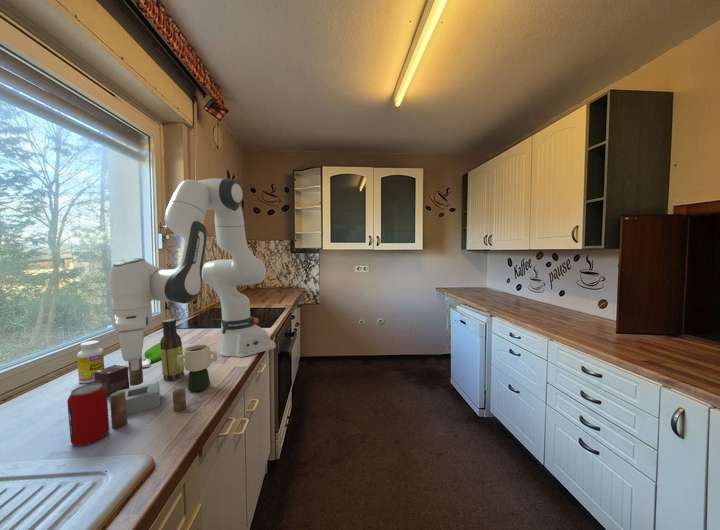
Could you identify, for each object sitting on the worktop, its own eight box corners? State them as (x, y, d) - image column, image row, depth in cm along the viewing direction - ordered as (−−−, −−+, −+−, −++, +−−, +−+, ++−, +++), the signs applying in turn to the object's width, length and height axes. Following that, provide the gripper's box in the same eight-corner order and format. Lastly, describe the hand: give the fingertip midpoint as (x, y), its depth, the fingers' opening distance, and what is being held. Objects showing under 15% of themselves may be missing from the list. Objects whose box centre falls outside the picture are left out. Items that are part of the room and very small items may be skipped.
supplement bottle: (89, 384, 99) (86, 346, 99) (73, 383, 101) (70, 345, 100) (110, 376, 106) (107, 340, 105) (94, 375, 107) (92, 339, 107)
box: (130, 389, 96) (128, 366, 95) (109, 398, 90) (107, 374, 90) (116, 386, 98) (115, 364, 97) (95, 395, 92) (93, 371, 92)
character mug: (219, 380, 100) (217, 342, 100) (217, 390, 94) (215, 348, 93) (181, 386, 96) (178, 346, 96) (176, 397, 90) (174, 353, 89)
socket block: (159, 394, 91) (159, 381, 91) (160, 406, 85) (159, 392, 85) (117, 404, 86) (116, 391, 86) (114, 417, 79) (113, 402, 79)
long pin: (143, 379, 87) (141, 342, 86) (143, 383, 84) (140, 344, 84) (130, 382, 85) (127, 344, 85) (129, 386, 83) (127, 346, 82)
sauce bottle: (188, 373, 107) (184, 317, 106) (178, 381, 101) (174, 321, 99) (169, 374, 107) (166, 318, 105) (158, 382, 100) (154, 322, 99)
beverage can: (87, 430, 74) (83, 382, 73) (116, 428, 74) (113, 381, 74) (62, 449, 67) (57, 396, 66) (95, 447, 68) (90, 394, 67)
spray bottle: (183, 347, 137) (154, 369, 113) (156, 349, 135) (122, 372, 111) (182, 341, 137) (154, 362, 113) (156, 342, 135) (121, 364, 111)
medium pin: (127, 420, 78) (125, 389, 78) (126, 425, 76) (124, 394, 75) (112, 424, 76) (110, 393, 76) (111, 430, 74) (108, 398, 73)
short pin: (185, 404, 85) (184, 387, 85) (186, 409, 83) (185, 391, 82) (173, 408, 84) (172, 390, 83) (173, 413, 81) (172, 394, 81)
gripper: (121, 313, 91) (124, 358, 91) (113, 326, 74) (117, 382, 74) (147, 310, 94) (150, 354, 95) (145, 322, 77) (148, 376, 78)
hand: (135, 366), depth 85 cm, fingers closed on long pin, 3 cm apart
